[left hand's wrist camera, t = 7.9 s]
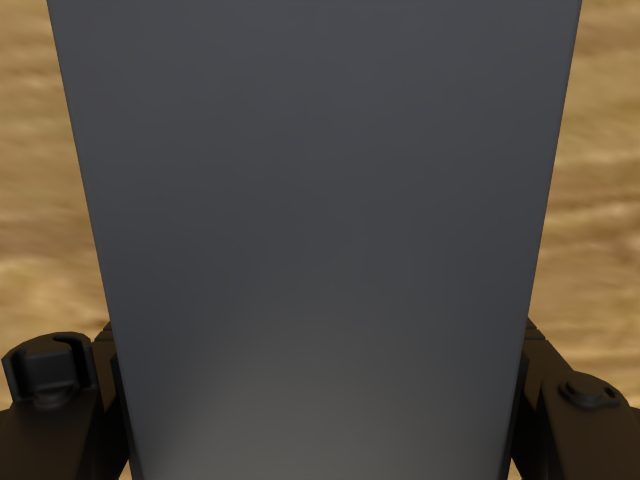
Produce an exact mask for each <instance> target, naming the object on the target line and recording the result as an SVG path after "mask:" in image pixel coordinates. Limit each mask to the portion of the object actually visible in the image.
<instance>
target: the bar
mask: <svg viewBox="0 0 640 480" xmlns="http://www.w3.org/2000/svg"><path fill="white" fill-rule="evenodd" d="M581 4H582V0H47V5H48V10H49V15H50V20H51V25H52V30H53V36H54V41H55V46H56V51H57V56H58V61H59V66H60V71H61V76H62V81H63V86H64V91H65V96H66V101H67V106H68V111H69V116H70V121H71V126H72V131H73V136H74V141H75V146H76V151H77V156H78V161H79V166H80V171H81V176H82V181H83V186H84V191H85V196H86V201H87V206H88V211H89V216H90V221H91V226H92V231H93V236H94V241H95V246H96V251H97V256H98V261H99V266H100V271H101V276H102V282H103V287H104V292H105V297H106V302H107V307H108V312H109V317H110V322H111V327H112V332H113V337H114V342H115V347H116V352H117V357H118V362H119V367H120V372H121V377H122V382H123V387H124V392H125V397H126V402H127V407H128V412H129V417H130V422H131V427H132V432H133V437H134V442H135V447H136V452H137V457H138V462H139V467H140V472H141V477H142V480H499V479H500V474H501V468H502V462H503V456H504V450H505V445H506V439H507V433H508V427H509V421H510V416H511V410H512V404H513V398H514V392H515V387H516V381H517V375H518V369H519V363H520V358H521V352H522V346H523V340H524V335H525V329H526V323H527V317H528V311H529V306H530V300H531V294H532V288H533V282H534V277H535V271H536V265H537V259H538V253H539V248H540V242H541V236H542V230H543V224H544V219H545V213H546V207H547V201H548V195H549V190H550V184H551V178H552V172H553V166H554V161H555V155H556V149H557V143H558V137H559V132H560V126H561V120H562V114H563V109H564V103H565V97H566V91H567V85H568V80H569V74H570V68H571V62H572V56H573V51H574V45H575V39H576V33H577V27H578V22H579V16H580V10H581Z"/></svg>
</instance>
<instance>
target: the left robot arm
mask: <svg viewBox="0 0 640 480" xmlns="http://www.w3.org/2000/svg"><path fill="white" fill-rule="evenodd" d="M1 361H2V365H3V368H4V372H5V375H6V379H7V382H8V386H9V389H10V393H11V396H12V400H13V402H12V404H11V406H10V408H9V409H6V410H3V411H0V480H119V477H120V475H121V473H122V471H123V469H124V467H125V465H126V463H127V461H128V460H129V465H130V470H131V476H132V480H142V477H141V472H140V467H139V462H138V457H137V452H136V447H135V442H134V437H133V432H132V427H131V422H130V417H129V412H128V407H127V402H126V397H125V392H124V387H123V382H122V377H121V372H120V367H119V362H118V357H117V352H116V347H115V342H114V337H113V332H112V327H111V322H110V321H109V323H108V324H107V325H106V326H105V327H104V328H103V331H101V332H100V333H99V334H98V335H97V337H96V338H95V339H94V342H92V343H91V340H90V338H88V337H87V336H86V335H84V334H82V333H77V332H55V333H51V334H46V335H42V336H38V337H36V338H33V339H30V340H28V341H25V342H23V343H21V344H20V345H18V346H16V347H15V348H13V349H11V350H10V351H9V352H8V353H7V354H6V355H5V356H4V357H3V358H2V359H1ZM511 457H512V459H513V461H514V463H515V465H516V467H517V469H518V471H519V473H520V475H521V477H522V479H521V480H640V409H638V408H634V407H630V406H629V404H628V402H627V400H626V399H625V398H624V396H623V395H622V394H621V393H620V391H619V390H617V389H616V388H614V387H613V386H611V385H610V384H609V383H607V382H606V381H603V380H601V379H599V378H597V377H594V376H592V375H589V374H585V373H581V372H577V371H574V370H573V369H572V368H571V367H570V366H569V364H568V363H567V362H566V361H565V360H564V359H563V357H562V356H561V355H560V354H559V353H558V352H557V350H556V349H555V348H554V347H553V346H552V345H551V343H550V342H549V341H548V340H546V339H545V336H544V335H543V334H542V333H541V332H540V331H539V330H537V327H536V326H535V325H534V324H533V322H532V321H531V320H530V319H529V318H528V317H527V323H526V329H525V335H524V340H523V346H522V352H521V358H520V363H519V369H518V375H517V381H516V387H515V392H514V398H513V404H512V410H511V416H510V421H509V427H508V433H507V439H506V445H505V450H504V456H503V462H502V468H501V474H500V479H499V480H507V479H508V473H509V468H510V463H511Z"/></svg>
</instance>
